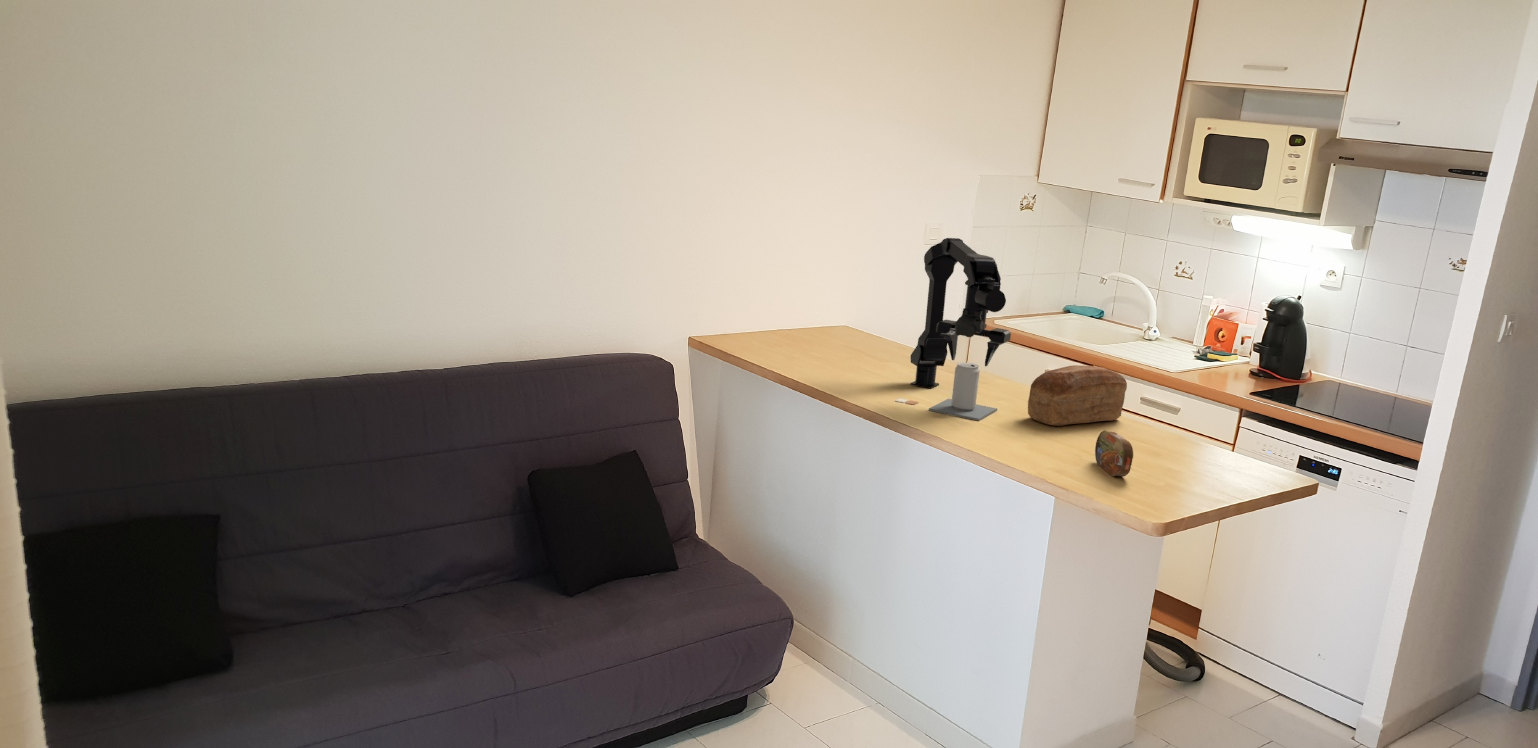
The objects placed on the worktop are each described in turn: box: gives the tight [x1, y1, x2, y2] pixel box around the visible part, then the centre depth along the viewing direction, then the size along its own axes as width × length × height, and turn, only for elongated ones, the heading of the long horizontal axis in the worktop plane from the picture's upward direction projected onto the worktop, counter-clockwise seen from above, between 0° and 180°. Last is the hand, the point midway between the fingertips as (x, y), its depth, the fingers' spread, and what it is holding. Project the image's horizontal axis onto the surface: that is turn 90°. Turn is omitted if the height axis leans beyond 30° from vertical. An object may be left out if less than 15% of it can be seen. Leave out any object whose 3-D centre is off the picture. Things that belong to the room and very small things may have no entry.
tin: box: [1094, 429, 1134, 478], centre depth 240 cm, size 15×3×8 cm, turn 5°
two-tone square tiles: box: [894, 397, 920, 406], centre depth 289 cm, size 3×6×1 cm, turn 59°
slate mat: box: [928, 398, 998, 422], centre depth 284 cm, size 14×14×1 cm
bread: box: [1027, 364, 1128, 427], centre depth 282 cm, size 12×28×14 cm, turn 119°
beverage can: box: [951, 362, 980, 411], centre depth 283 cm, size 6×6×12 cm
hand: (969, 363), depth 282 cm, fingers open, 9 cm apart
